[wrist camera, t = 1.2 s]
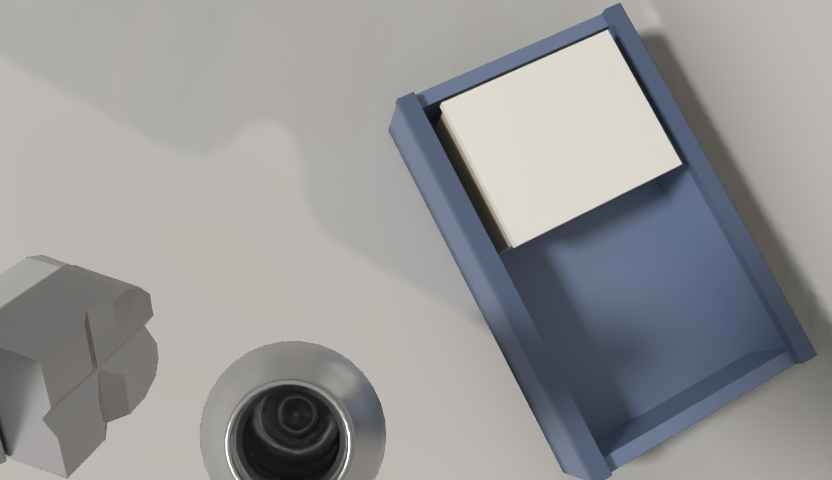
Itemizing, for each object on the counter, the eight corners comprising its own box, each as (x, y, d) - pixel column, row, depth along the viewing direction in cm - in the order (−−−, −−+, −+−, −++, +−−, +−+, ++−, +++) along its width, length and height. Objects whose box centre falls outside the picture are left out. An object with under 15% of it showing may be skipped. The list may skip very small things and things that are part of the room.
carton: (426, 133, 44) (441, 102, 39) (575, 66, 46) (607, 29, 41) (493, 261, 43) (516, 246, 38) (641, 187, 45) (682, 163, 40)
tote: (386, 130, 44) (397, 99, 40) (587, 42, 47) (620, 2, 42) (561, 473, 42) (595, 485, 37) (760, 357, 45) (817, 354, 40)
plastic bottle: (285, 328, 42) (267, 280, 22) (382, 403, 42) (449, 421, 22) (208, 425, 40) (116, 465, 21) (309, 503, 40) (312, 616, 21)
